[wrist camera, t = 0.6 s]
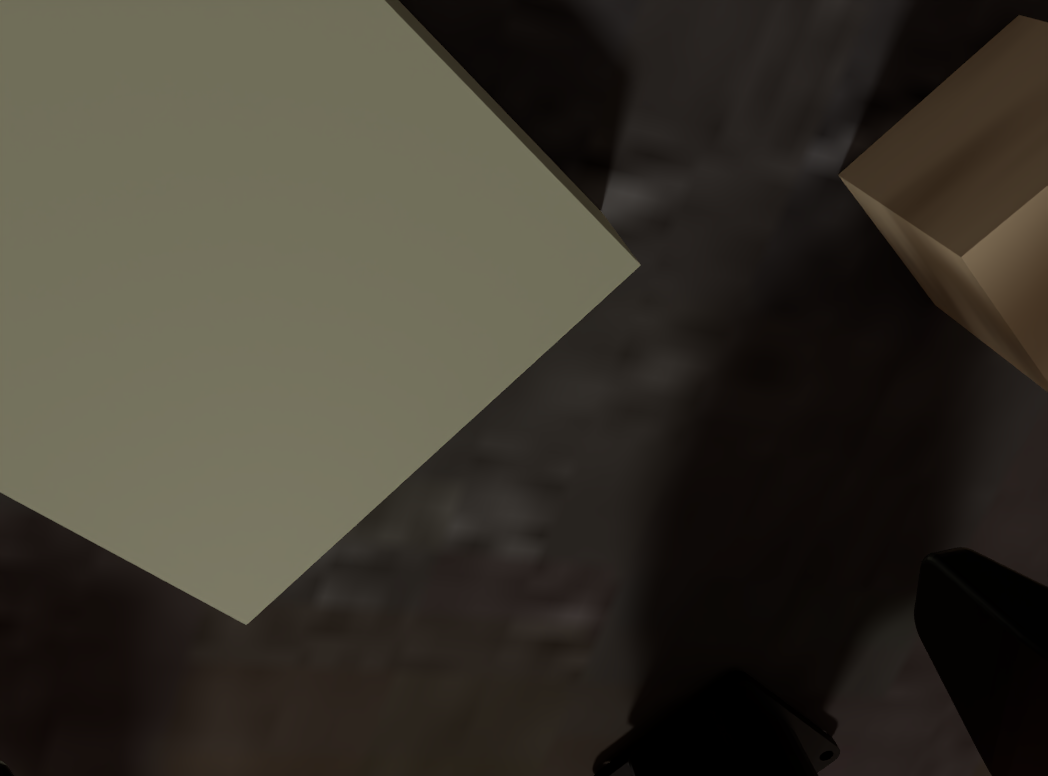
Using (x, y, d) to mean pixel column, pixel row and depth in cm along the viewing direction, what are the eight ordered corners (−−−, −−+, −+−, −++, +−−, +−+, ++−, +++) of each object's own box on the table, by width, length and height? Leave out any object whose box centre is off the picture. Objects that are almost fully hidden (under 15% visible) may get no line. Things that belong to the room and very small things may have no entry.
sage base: (601, 211, 21) (640, 265, 19) (253, 540, 24) (246, 624, 21) (139, -271, 15) (104, -290, 13) (-251, 239, 18) (-344, 306, 15)
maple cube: (1099, 167, 23) (1274, 243, 19) (933, 303, 24) (1062, 403, 20) (1016, 14, 21) (1196, 62, 16) (836, 174, 22) (960, 257, 18)
